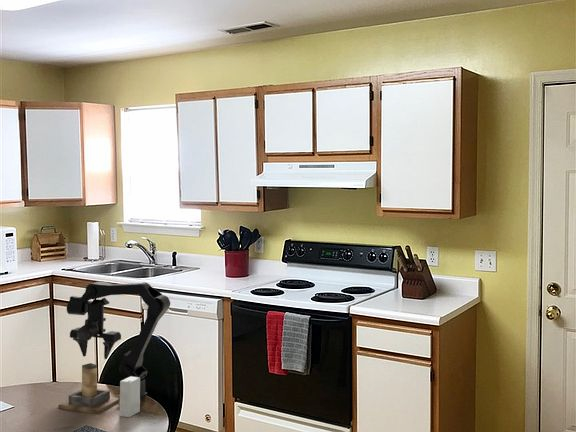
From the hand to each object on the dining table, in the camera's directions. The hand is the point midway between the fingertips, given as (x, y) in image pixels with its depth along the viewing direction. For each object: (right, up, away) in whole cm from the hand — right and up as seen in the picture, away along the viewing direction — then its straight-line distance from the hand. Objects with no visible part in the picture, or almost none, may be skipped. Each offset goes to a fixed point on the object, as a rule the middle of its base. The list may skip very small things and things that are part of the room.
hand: (95, 357), depth 242 cm
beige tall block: (+2, -13, -13) cm, 18 cm away
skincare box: (+18, -15, -21) cm, 31 cm away
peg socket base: (+2, -14, -13) cm, 19 cm away
